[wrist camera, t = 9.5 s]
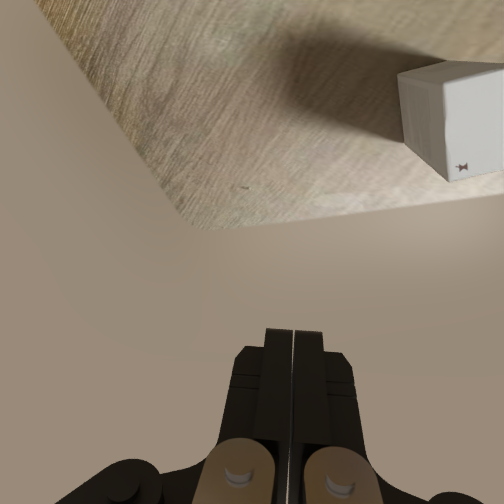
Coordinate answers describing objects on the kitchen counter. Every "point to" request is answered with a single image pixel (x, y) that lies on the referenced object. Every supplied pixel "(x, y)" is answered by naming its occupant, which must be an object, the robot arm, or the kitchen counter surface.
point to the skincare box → (455, 117)
